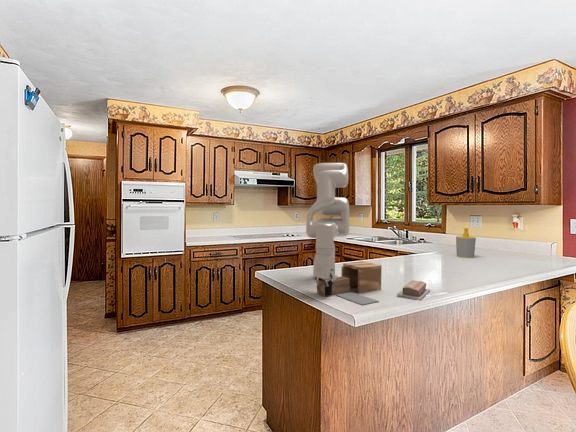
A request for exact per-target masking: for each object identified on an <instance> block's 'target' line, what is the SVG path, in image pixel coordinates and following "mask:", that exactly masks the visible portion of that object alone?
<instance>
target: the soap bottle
mask: <svg viewBox="0 0 576 432" xmlns="http://www.w3.org/2000/svg"><path fill="white" fill-rule="evenodd" d="M463 230H464V231H463V233H462V235H459V236H458V235H457V236H455V245H456V246H455V248H456V249H455V250H456V257H457V258H463V259H473V258H475V252H476V251H475V249H476V239H477V237H475V236H470V233H469V230H470V229H469V227H464V228H463Z"/></svg>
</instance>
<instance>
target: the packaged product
mask: <svg viewBox="0 0 576 432" xmlns="http://www.w3.org/2000/svg"><path fill="white" fill-rule="evenodd" d="M430 292H431V289H429V288H427V282H425V281H421V280H412V281H410V282H409V283H407V284H406V285H404V286H403V287H402V290H401V291H399V292H398V293H396V297H397V298H403V299H409V300H416V301H422V299H423V298H425V297H426V296H427V295H428V294H429V293H430Z"/></svg>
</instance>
